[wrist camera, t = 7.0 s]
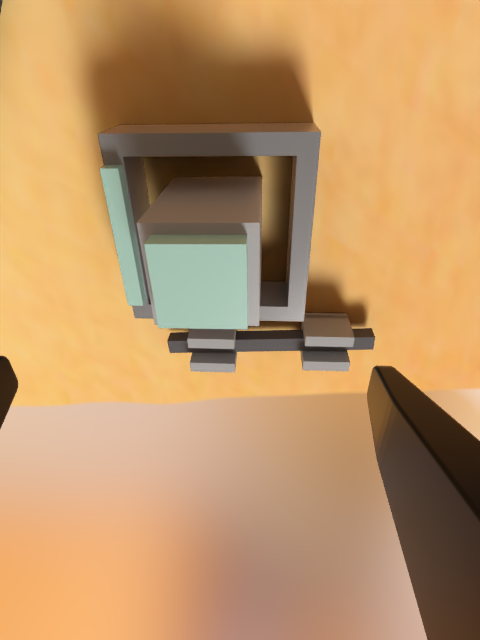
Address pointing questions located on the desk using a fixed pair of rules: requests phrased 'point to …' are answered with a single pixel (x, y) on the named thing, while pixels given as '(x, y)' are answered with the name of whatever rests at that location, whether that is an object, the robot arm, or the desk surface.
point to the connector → (204, 252)
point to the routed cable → (276, 343)
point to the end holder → (210, 140)
